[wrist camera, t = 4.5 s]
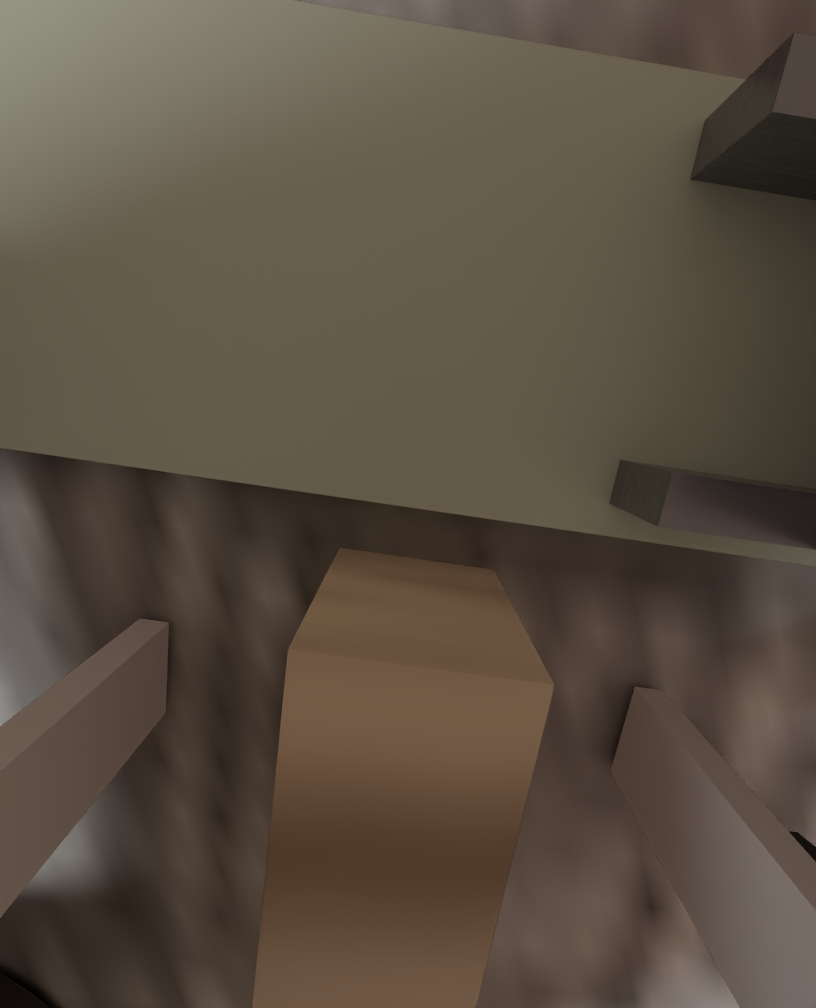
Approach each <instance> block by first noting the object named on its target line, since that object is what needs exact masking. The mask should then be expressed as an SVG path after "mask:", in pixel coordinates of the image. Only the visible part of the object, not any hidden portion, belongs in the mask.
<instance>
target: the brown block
mask: <svg viewBox="0 0 816 1008" xmlns="http://www.w3.org/2000/svg"><path fill="white" fill-rule="evenodd" d="M554 686H555V685H554V683H553V681H552V679H551V677H550V675H549V674H548V672H547V670H546V668H545V666H544V664H543V662H542V660H541V658H540V656H539V655H538V653H537V651H536V649H535V647H534V645H533V643H532V641H531V639H530V637H529V636H528V634H527V632H526V630H525V628H524V626H523V624H522V622H521V620H520V618H519V616H518V615H517V613H516V611H515V609H514V607H513V605H512V603H511V601H510V599H509V597H508V596H507V594H506V592H505V590H504V588H503V586H502V584H501V582H500V580H499V578H498V576H497V575H496V573H495V571H494V570H493V569H486V568H479V567H472V566H465V565H458V564H451V563H444V562H437V561H430V560H423V559H416V558H409V557H402V556H395V555H388V554H381V553H374V552H367V551H360V550H353V549H346V548H339V550H338V552H337V554H336V556H335V558H334V560H333V561H332V563H331V565H330V567H329V569H328V571H327V573H326V575H325V577H324V579H323V581H322V583H321V585H320V587H319V589H318V591H317V593H316V595H315V597H314V599H313V601H312V603H311V605H310V607H309V609H308V611H307V613H306V615H305V617H304V619H303V621H302V623H301V625H300V626H299V628H298V630H297V632H296V634H295V636H294V638H293V640H292V642H291V644H290V646H289V648H288V654H287V664H286V674H285V684H284V694H283V704H282V714H281V724H280V734H279V744H278V754H277V764H276V774H275V784H274V794H273V804H272V814H271V824H270V834H269V844H268V854H267V864H266V874H265V884H264V895H263V905H262V915H261V925H260V935H259V945H258V955H257V965H256V975H255V985H254V995H253V1005H252V1008H476V1006H477V1001H478V997H479V993H480V989H481V985H482V981H483V977H484V973H485V969H486V965H487V960H488V956H489V952H490V948H491V944H492V940H493V936H494V932H495V928H496V924H497V919H498V915H499V911H500V907H501V903H502V899H503V895H504V891H505V887H506V883H507V878H508V874H509V870H510V866H511V862H512V858H513V854H514V850H515V846H516V842H517V837H518V833H519V829H520V825H521V821H522V817H523V813H524V809H525V805H526V801H527V796H528V792H529V788H530V784H531V780H532V776H533V772H534V768H535V764H536V760H537V755H538V751H539V747H540V743H541V739H542V735H543V731H544V727H545V723H546V719H547V714H548V710H549V706H550V702H551V698H552V694H553V690H554Z"/></svg>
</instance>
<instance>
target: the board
mask: <svg viewBox="0 0 816 1008" xmlns="http://www.w3.org/2000/svg"><path fill="white" fill-rule="evenodd" d="M745 80H746V79H742V78H736V77H730V76H725V75H719V74H713V73H707V72H702V71H696V70H690V69H685V68H679V67H673V66H667V65H662V64H656V63H650V62H644V61H639V60H633V59H627V58H622V57H616V56H610V55H604V54H599V53H593V52H587V51H582V50H576V49H570V48H564V47H559V46H553V45H547V44H541V43H536V42H530V41H524V40H519V39H513V38H507V37H501V36H496V35H490V34H484V33H479V32H473V31H467V30H461V29H456V28H450V27H444V26H438V25H433V24H427V23H421V22H416V21H410V20H404V19H398V18H393V17H387V16H381V15H376V14H370V13H364V12H358V11H353V10H347V9H341V8H335V7H330V6H324V5H318V4H313V3H307V2H301V1H295V0H0V448H4V449H11V450H18V451H25V452H32V453H39V454H46V455H53V456H59V457H66V458H73V459H80V460H87V461H94V462H101V463H107V464H114V465H121V466H128V467H135V468H142V469H149V470H156V471H162V472H169V473H176V474H183V475H190V476H197V477H204V478H211V479H217V480H224V481H231V482H238V483H245V484H252V485H259V486H265V487H272V488H279V489H286V490H293V491H300V492H307V493H314V494H320V495H327V496H334V497H341V498H348V499H355V500H362V501H368V502H375V503H382V504H389V505H396V506H403V507H410V508H417V509H423V510H430V511H437V512H444V513H451V514H458V515H465V516H471V517H478V518H485V519H492V520H499V521H506V522H513V523H520V524H526V525H533V526H540V527H547V528H554V529H561V530H568V531H574V532H581V533H588V534H595V535H602V536H609V537H616V538H623V539H629V540H636V541H643V542H650V543H657V544H664V545H671V546H677V547H684V548H691V549H698V550H705V551H712V552H719V553H726V554H732V555H739V556H746V557H753V558H760V559H767V560H774V561H780V562H787V563H794V564H801V565H808V566H815V567H816V550H813V549H806V548H800V547H793V546H786V545H779V544H772V543H765V542H759V541H752V540H745V539H738V538H731V537H724V536H718V535H711V534H704V533H697V532H690V531H684V530H677V529H670V528H663V527H657V526H655V525H653V524H651V523H649V522H647V521H645V520H643V519H641V518H638V517H636V516H634V515H632V514H630V513H628V512H626V511H624V510H622V509H619V508H617V507H615V506H613V505H611V504H609V502H610V498H611V494H612V490H613V486H614V482H615V478H616V474H617V470H618V466H619V462H620V460H626V461H633V462H639V463H646V464H653V465H659V466H666V467H673V468H679V469H686V470H692V471H699V472H706V473H712V474H719V475H726V476H732V477H739V478H746V479H752V480H759V481H766V482H772V483H779V484H786V485H792V486H799V487H806V488H812V489H816V201H815V200H809V199H803V198H797V197H791V196H785V195H779V194H773V193H767V192H761V191H755V190H749V189H743V188H737V187H731V186H725V185H719V184H714V183H708V182H702V181H696V180H690V177H691V173H692V169H693V165H694V161H695V157H696V153H697V149H698V145H699V141H700V137H701V133H702V129H703V125H704V121H705V120H706V119H707V118H708V117H709V116H710V115H711V114H712V113H713V112H714V111H715V110H716V109H717V108H718V107H719V106H720V105H721V104H722V103H723V102H724V101H725V100H726V99H727V98H728V97H729V96H730V95H731V94H732V93H733V92H734V91H735V90H736V89H737V88H738V87H739V86H740V85H741V84H742V83H743V82H744V81H745Z"/></svg>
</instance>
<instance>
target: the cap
mask: <svg viewBox="0 0 816 1008" xmlns="http://www.w3.org/2000/svg"><path fill="white" fill-rule="evenodd" d="M690 180H696V181H702V182H708V183H714V184H719V185H725V186H731V187H737V188H743V189H749V190H755V191H761V192H767V193H773V194H779V195H785V196H791V197H797V198H803V199H809V200H815V201H816V36H813V35H807V34H802V33H796V32H794V33H793V34H792V35H791V36H790V37H789V38H788V39H787V40H786V41H785V42H784V43H783V44H782V45H781V46H780V47H779V48H778V49H777V50H776V51H775V52H774V53H773V54H772V55H771V56H770V57H769V58H768V59H767V60H766V61H765V62H764V63H763V64H762V65H761V66H760V67H759V68H758V69H757V70H756V71H755V72H754V73H753V74H751V75H750V76H749V77H748V78H747V79H746V80H745V81H744V82H743V83H742V84H741V85H740V86H739V87H738V88H737V89H736V90H735V91H734V92H733V93H732V94H731V95H730V96H729V97H728V98H727V99H726V100H725V101H724V102H723V103H722V104H721V105H720V106H719V107H718V108H717V109H716V110H715V111H714V112H713V113H712V114H711V115H710V116H709V117H708V118H707V119H706V120H705V121H704V125H703V129H702V133H701V137H700V141H699V145H698V149H697V153H696V157H695V161H694V165H693V169H692V173H691V177H690ZM609 504H611V505H613V506H615V507H617V508H619V509H622V510H624V511H626V512H628V513H630V514H632V515H634V516H636V517H638V518H641V519H643V520H645V521H647V522H649V523H651V524H653V525H655V526H657V527H663V528H670V529H677V530H684V531H690V532H697V533H704V534H711V535H718V536H724V537H731V538H738V539H745V540H752V541H759V542H765V543H772V544H779V545H786V546H793V547H800V548H806V549H813V550H816V489H812V488H806V487H799V486H792V485H786V484H779V483H772V482H766V481H759V480H752V479H746V478H739V477H732V476H726V475H719V474H712V473H706V472H699V471H692V470H686V469H679V468H673V467H666V466H659V465H653V464H646V463H639V462H633V461H626V460H620V462H619V466H618V470H617V474H616V478H615V482H614V486H613V490H612V494H611V498H610V502H609Z"/></svg>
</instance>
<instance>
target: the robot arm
mask: <svg viewBox="0 0 816 1008" xmlns="http://www.w3.org/2000/svg"><path fill="white" fill-rule="evenodd" d="M168 637H169V622H162V621H155V620H147V619H139V620H137V621H136V622H135V623H134V624H132V625H131V626H130V627H128V628H127V629H126V630H124V631H123V632H122V633H121V634H119V635H118V636H117V637H115V638H114V639H113V640H112V641H110V642H109V643H108V644H106V645H105V646H104V647H103V648H101V649H100V650H99V651H97V652H96V653H95V654H93V655H92V656H91V657H90V658H88V659H87V660H86V661H84V662H83V663H82V664H81V665H79V666H78V667H77V668H75V669H74V670H73V671H71V672H70V673H69V674H68V675H66V676H65V677H64V678H62V679H61V680H60V681H59V682H57V683H56V684H55V685H53V686H52V687H51V688H50V689H48V690H47V691H46V692H44V693H43V694H42V695H40V696H39V697H38V698H37V699H35V700H34V701H33V702H31V703H30V704H29V705H28V706H26V707H25V708H24V709H22V710H21V711H20V712H19V713H17V714H16V715H15V716H13V717H12V718H11V719H9V720H8V721H7V722H6V723H4V724H3V725H2V726H0V918H1V916H2V915H3V914H4V913H5V912H6V910H7V909H8V908H9V907H10V905H11V904H12V903H13V902H14V900H15V899H16V898H17V897H18V895H19V894H20V893H21V892H22V890H23V889H24V888H25V887H26V885H27V884H28V883H29V882H30V881H31V879H32V878H33V877H34V876H35V874H36V873H37V872H38V871H39V869H40V868H41V867H42V866H43V864H44V863H45V862H46V861H47V859H48V858H49V857H50V856H51V854H52V853H53V852H54V851H55V850H56V848H57V847H58V846H59V845H60V843H61V842H62V841H63V840H64V838H65V837H66V836H67V835H68V833H69V832H70V831H71V830H72V828H73V827H74V826H75V825H76V823H77V822H78V821H79V820H80V819H81V817H82V816H83V815H84V814H85V812H86V811H87V810H88V809H89V807H90V806H91V805H92V804H93V802H94V801H95V800H96V799H97V797H98V796H99V795H100V794H101V792H102V791H103V790H104V789H105V787H106V786H107V785H108V784H109V783H110V781H111V780H112V779H113V778H114V776H115V775H116V774H117V773H118V771H119V770H120V769H121V768H122V766H123V765H124V764H125V763H126V761H127V760H128V759H129V758H130V756H131V755H132V754H133V753H134V752H135V750H136V749H137V748H138V747H139V745H140V744H141V743H142V742H143V740H144V739H145V738H146V737H147V735H148V734H149V733H150V732H151V730H152V729H153V728H154V727H155V725H156V724H157V723H158V722H159V721H160V719H161V718H162V717H163V716H164V714H165V713H166V691H167V664H168ZM610 772H611V774H612V776H613V777H614V779H615V781H616V783H617V785H618V787H619V788H620V790H621V792H622V794H623V796H624V797H625V799H626V801H627V803H628V805H629V807H630V808H631V810H632V812H633V814H634V816H635V817H636V819H637V821H638V823H639V825H640V827H641V828H642V830H643V832H644V834H645V836H646V838H647V839H648V841H649V843H650V845H651V847H652V848H653V850H654V852H655V854H656V856H657V858H658V859H659V861H660V863H661V865H662V867H663V868H664V870H665V872H666V874H667V876H668V878H669V879H670V881H671V883H672V885H673V887H674V888H675V890H676V892H677V894H678V896H679V898H680V899H681V901H682V903H683V905H684V907H685V908H686V910H687V912H688V914H689V916H690V918H691V919H692V921H693V923H694V925H695V927H696V928H697V930H698V932H699V934H700V936H701V938H702V939H703V941H704V943H705V945H706V947H707V949H708V950H709V952H710V954H711V956H712V958H713V959H714V961H715V963H716V965H717V967H718V969H719V970H720V972H721V974H722V976H723V978H724V979H725V981H726V983H727V985H728V987H729V989H730V990H731V992H732V994H733V996H734V998H735V999H736V1001H737V1003H738V1005H739V1007H740V1008H816V847H815V846H814V845H812V844H811V843H810V842H809V841H807V840H806V839H805V838H804V837H802V836H801V835H800V834H799V833H797V832H790V831H788V830H787V829H786V828H785V827H784V826H783V825H782V824H781V823H780V821H779V820H778V819H777V818H776V817H775V816H774V815H773V814H772V812H771V811H770V810H769V809H768V808H767V807H766V806H765V805H764V804H763V802H762V801H761V800H760V799H759V798H758V797H757V796H756V795H755V793H754V792H753V791H752V790H751V789H750V788H749V787H748V786H747V785H746V783H745V782H744V781H743V780H742V779H741V778H740V777H739V776H738V774H737V773H736V772H735V771H734V770H733V769H732V768H731V767H730V765H729V764H728V763H727V762H726V761H725V760H724V759H723V758H722V757H721V755H720V754H719V753H718V752H717V751H716V750H715V749H714V748H713V746H712V745H711V744H710V743H709V742H708V741H707V740H706V739H705V738H704V736H703V735H702V734H701V733H700V732H699V731H698V730H697V729H696V727H695V726H694V725H693V724H692V723H691V722H690V721H689V720H688V718H687V717H686V716H685V715H684V714H683V713H682V712H681V711H680V710H679V708H678V707H677V706H676V705H675V704H674V703H673V702H672V701H671V699H670V698H669V697H668V696H667V695H666V694H665V693H664V692H663V691H662V690H657V689H649V688H642V687H635V688H634V691H633V695H632V698H631V702H630V705H629V709H628V712H627V716H626V719H625V722H624V726H623V729H622V733H621V736H620V740H619V743H618V747H617V750H616V754H615V757H614V761H613V764H612V768H611V771H610ZM0 1008H49V1007H48V1006H47V1005H45V1004H44V1003H43V1002H42V1001H41V1000H39V999H38V998H37V997H35V996H34V995H33V994H31V993H30V992H28V991H27V990H26V989H24V988H23V987H21V986H20V985H18V984H17V983H15V982H13V981H12V980H10V979H9V978H7V977H5V976H3V975H2V974H0Z"/></svg>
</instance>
